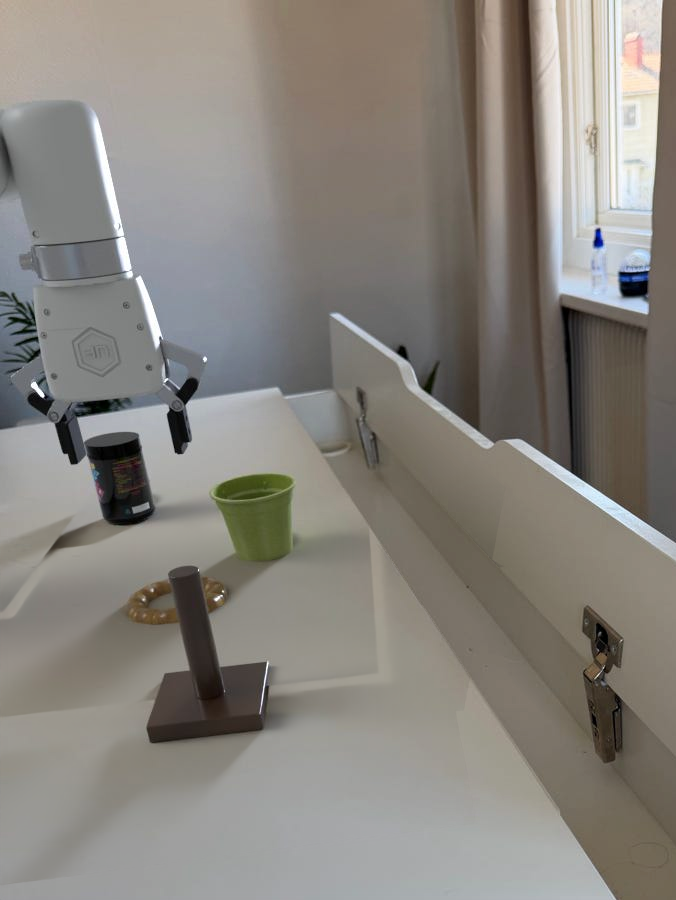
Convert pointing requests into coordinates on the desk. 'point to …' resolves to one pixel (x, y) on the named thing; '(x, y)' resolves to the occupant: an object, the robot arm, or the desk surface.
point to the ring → (142, 614)
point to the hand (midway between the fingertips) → (130, 455)
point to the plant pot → (257, 514)
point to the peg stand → (205, 677)
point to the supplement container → (120, 477)
